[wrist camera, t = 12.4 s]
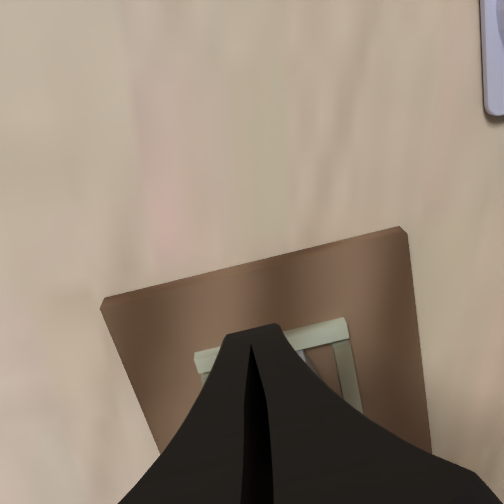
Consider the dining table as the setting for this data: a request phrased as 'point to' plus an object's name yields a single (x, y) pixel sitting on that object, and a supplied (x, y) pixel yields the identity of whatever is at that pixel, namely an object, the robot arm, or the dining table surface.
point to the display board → (284, 330)
